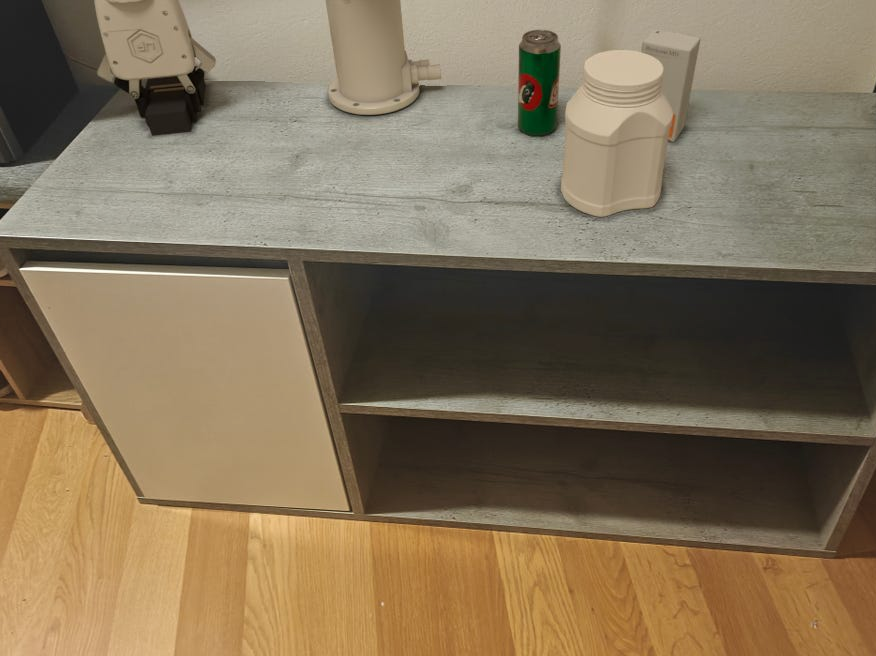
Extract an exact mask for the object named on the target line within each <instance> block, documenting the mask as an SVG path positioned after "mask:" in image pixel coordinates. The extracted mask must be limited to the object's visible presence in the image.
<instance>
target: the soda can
mask: <svg viewBox="0 0 876 656" xmlns="http://www.w3.org/2000/svg"><path fill="white" fill-rule="evenodd" d="M561 50H562V45H561V43H560V41H559V36H558V34H557V33H556V32H554V31H553V30H552V31H551V30H548V29H533V30H529V31H526V32H525V33H523V34H522V36H521V41H520V43H519V45H518V80H517V81H518V86H517V89H518V90H517V126H518V129H520V130H521V131H522V132H523V133H524V134H526V135H529V136H533V137H542V136H546V135H549V134H550V133H553V131H554V130H555V129H556V128H557V126H558V110H559V109H558V107H559V92H560V91H559V90H560V69H561V53H562V51H561Z"/></svg>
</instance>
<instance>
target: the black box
mask: <svg viewBox="0 0 876 656" xmlns="http://www.w3.org/2000/svg"><path fill="white" fill-rule="evenodd" d="M183 94H184V87H179V88H168V89H158V90H151V92H150V98H149V102H148V106H147V109H146V114H145V116H146V119H147V122H148V125H149V127H148V128H149V131H150V134H151V136H152V137H155V136H165V135H166V136H167V135H173V134H183V133H184V134H185V133H191V132H192V129H193V128H192V127H193V122H192V121H191V119H190V115H189V112H188V108H187V105H186V103H185V100H184V96H183Z"/></svg>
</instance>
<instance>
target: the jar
mask: <svg viewBox="0 0 876 656" xmlns="http://www.w3.org/2000/svg"><path fill="white" fill-rule="evenodd" d="M663 72H664V68H663V65H662V64H661V63H660V61H658V60H657V59H656V58H654V57H652V56H650V55H648V54H645V53H641V51H636V50H631V49H630V50H629V49H613V50H605V51H601V52H598V53H595V54H593V55H591V56H590V57H589V58H587V59H586V60H585V62H584V65H583V72H582V74H583V75H582V84H581V85H580V86H579V88H578V89H577V90H576V91H575V92H574V94H572V96H571V97H570V98H569V100H568V101H567V103H566V106H565V111H564V120H565V127H564V130H565V131H564V142H563V143H564V144H563V159H562V160H563V161H562V175H561V180H560V192H561V195H562V197H563V198H564V200H565V201H566V203H568V204H569V205H570V206H571V207H573V208H574V209H576V210H577V211H579V212H582V213H584V214H587V215H590V216H594V217H598V218H605V217H610V216H611V215H613V214H616V213H620V212H624V211H628V210H639V209H640V210H641V209H642V210H643V209H649V208H653V207H654V206H655V205H656V204H657V203H658V201H659V199H660V197H661V191H662V185H663V181H662V179H663V175H664V174H663V173H664V168H665V161H666V155H667V148H668V143H669V140H668V137H669V131H670V127H671V124H672V118H673V111H672V108H671V106H670V104H669V102H668V101H667V99H666V97H665V95H664V93H663V92H662V90H661V86H662V77H663Z"/></svg>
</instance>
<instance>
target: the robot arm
mask: <svg viewBox="0 0 876 656" xmlns="http://www.w3.org/2000/svg"><path fill="white" fill-rule="evenodd" d="M93 3H94V9H95V14H96V15H95V16H96V19H97V24H98V28H99V33H100V36H101V40H102V43H103V47H104V51H105V52H104V55H103V56H102V59H101V60H100V61H101V62H100V63H99V65H98V68H97V70H96V75H97V76H98V77H100V78H101V79H103V80H105V81H107V82H109V83H112V84H114V85H115V87H117V88H119V89H120V90H122V91H124V92H125V93H127V94H129V97H130V98H131V99H132V100H133V99H134V102H135V105H136V107H137V111H138V113H139V117H140V118H141V119H145V123H146V125H147V127H148V128H149V125H148V122H147V119H146V116H145V114H146V109H147V106H148V102H149V98H150V96H149V93H148V90H146V88H145V87H144V85H143V80H147V79H151V78H161V77H171V76H177V77H178V78H179V80H180V82H181V83H182V85H183V86H184V94H183V96H184V100H185V103H186V105H187V108H188V112H189V115H190V119H191V121H192V123H197V121H198V115H199V113H201V112H202V106H201V105H200V101H199V98H198V94H197V91H196V88H197V86H198V85H199V84H200V82H201V81H202V80H203V78H204V79H205V76H206V75H208V74H209V73H210V71H212V70H213V68H214V67H215V66H216V57H215V56H214V55H213V54H211V52H209V51H208V50H207V49H206V48H205V47H203V46H202V45H201V44H200V43H198V42H197V41H196V39H194V38H193V35H192V32H191V29H190V27H189V24H188V21H187V18H186V15H185V14H184V11H183V8H182V6H181V3H180V1H179V0H93ZM325 5H326V11H327V19H328V26H329V32H330V39H331V45H332V52H333V58H334V65H335V71H336V77H335V79H333V80H332V81H331V82H330V84H329V86H328V89H327V93H328V99H329V101H330V103H331V104H332V106H334V107H335V108H337V109H338V110H341V111H343V112H345V113H348V114H354V115H361V116H373V115H383V114H388V113H393V112H397V111H398V110H403V109H404V108H406V107H408V106H409V105H411V104H412V103H414V102H415V101H416V99H417V98H418V97H419V94H420V81H435V80H442V70H441V65H440V64H431V65H430V60H429V59H421V60H420V59H419V60H416V61H415V60H412V59H409V57H408V54H407V50H406V49H405V48H406V47H405V38H404V36H405V35H404V25H403V16H402V15H403V14H402V3H401V0H325ZM196 59H197V60H198V61H200V62H199V64H198V65H196ZM195 66H196V68H195V69H194V67H195ZM193 69H194V70H193ZM192 71H193V72H192Z"/></svg>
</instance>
